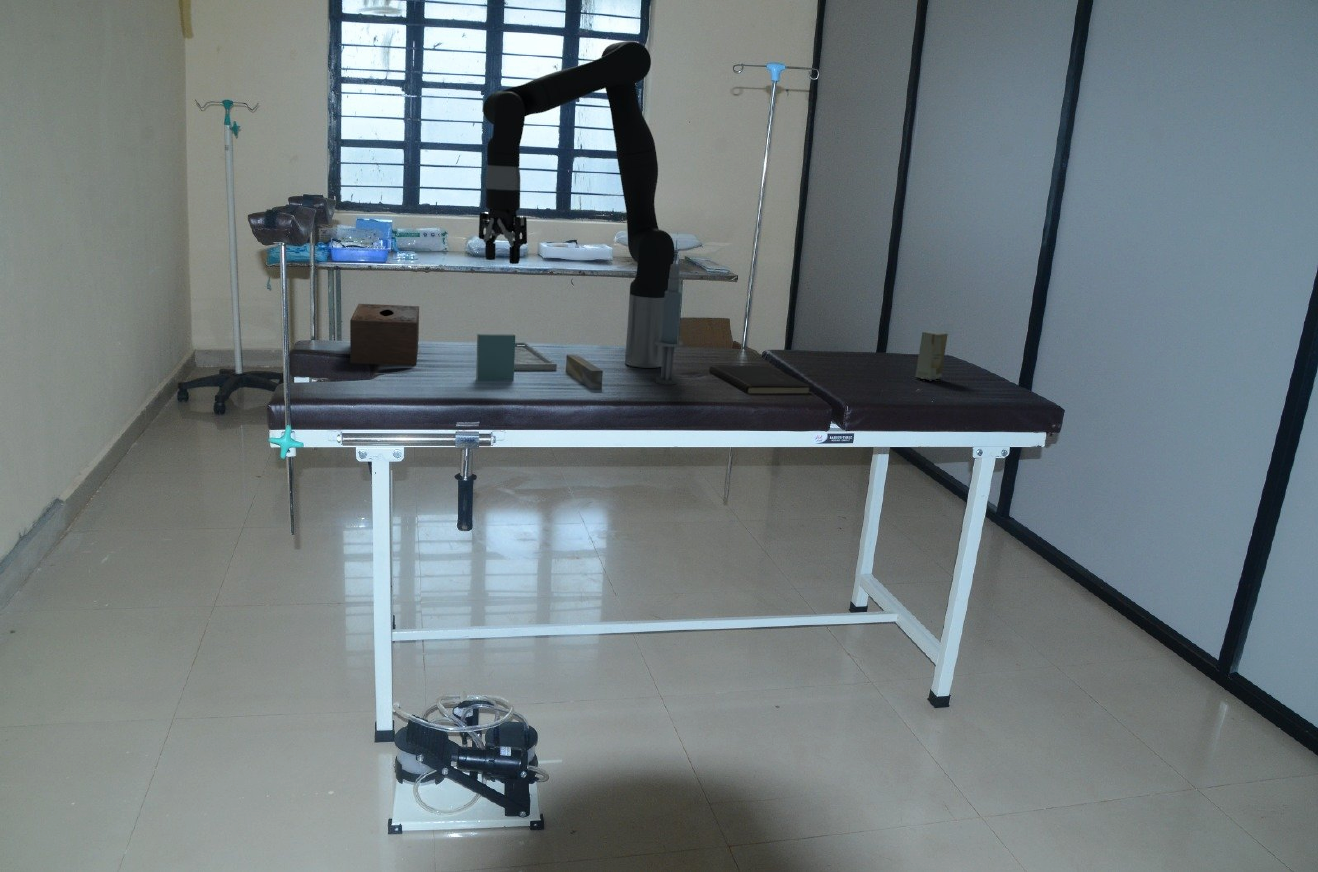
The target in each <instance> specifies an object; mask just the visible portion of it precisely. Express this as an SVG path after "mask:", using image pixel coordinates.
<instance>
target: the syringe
mask: <svg viewBox="0 0 1318 872" xmlns="http://www.w3.org/2000/svg"><path fill="white" fill-rule="evenodd" d="M676 234H678V230H677V233H676ZM675 242H676V243H675V253H674V264H672V265H670V273H669V279H668V290H667V291H665V298H664V311H663V324H662V337H661V340H656V341H655V344H656V345H659V346H663V356H662V367H661V369H660V371H661V372H660V376H656V377H655V383H657V384H660V385H675V384H677V380H678V379H677V378H676V377H673V369H674V367H673V366H674V357H675V355H674V353H675V348H679V347H680V348H681V347H683V346H684V342H682V341H680V340H678V334H679V321H680V310H681V309H680V308H681V301H682V300H681V298H682V292H681V291H680V289H679V288H680V279H679V278H680V277H679V276H680V265H679V264H677V251H678V250H677V248H678V240H676V241H675Z"/></svg>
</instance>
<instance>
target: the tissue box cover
mask: <svg viewBox="0 0 1318 872" xmlns="http://www.w3.org/2000/svg"><path fill="white" fill-rule="evenodd" d="M349 322H350V323H349V330H350V331H349V332H350V333H349V335H350V337H349V339H350V344H349V347H350V348H349V349H350V354H349V355H350V357H349V358H350V364H356V365H357V364H361V365H362V364H363V365H365V364H366V365H388V366H389V365H393V366H395V365H396V366H417V364H418V363H417V362H418V361H417V360H418V356H419V355H418V352H419V345H418V342H419V339H420V337H419V335H420V333H419V332H420V306H419V305H403V304H402V305H400V304H399V305H398V304H377V303H375V304H373V303H372V304H371V303H358V304H357V306H356V308H355V310H354V312H353V313H352V316H351V318H350V320H349Z"/></svg>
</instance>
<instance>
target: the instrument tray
mask: <svg viewBox="0 0 1318 872" xmlns="http://www.w3.org/2000/svg"><path fill="white" fill-rule="evenodd" d="M517 345H525V346H517ZM557 365H558V364H557V363H556V362H554V361H553V360H551V359H550V358H548V357H547V356H546V355H544V354H543V353H541V352H540V351H538V349H535V348H534V347H533V346H531V345H530V344H529V343H527V342H526V341H524V342H521V341H520V342H518V341H515V359H514V372H518V371H519V372H523V371H524V372H526V371H528V372H529V371H535V372H537V371H542V372H543V371H557Z"/></svg>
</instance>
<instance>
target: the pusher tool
mask: <svg viewBox="0 0 1318 872" xmlns="http://www.w3.org/2000/svg"><path fill="white" fill-rule="evenodd" d="M565 372H566V373H567V374H569V375H570V376H571V377H573V379H576V380H577V381H578V382H580V383H581V384H583V385H584V386H586V387H587V388H589V389H591V390H593V388H602V389H603V375H604V373H603V372H604V370H602V369H601V368H600V367H598V366H596V365H595V364H593V363H592V362H590V361H589V360H586V359H585V358H584V357H581V356H580V355H578V354H566V359H565Z"/></svg>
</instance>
